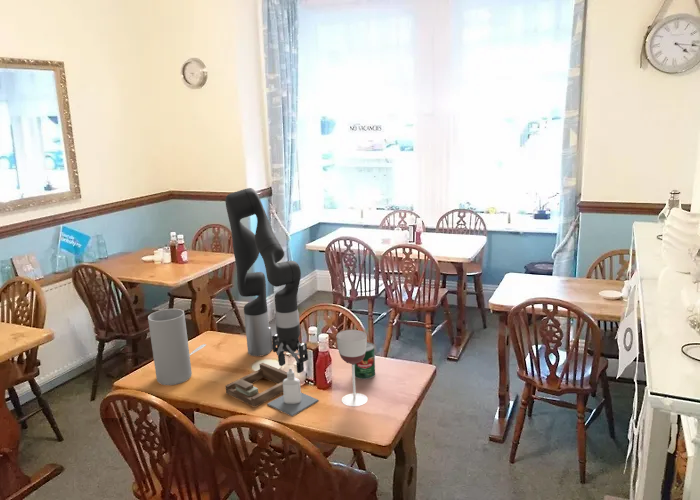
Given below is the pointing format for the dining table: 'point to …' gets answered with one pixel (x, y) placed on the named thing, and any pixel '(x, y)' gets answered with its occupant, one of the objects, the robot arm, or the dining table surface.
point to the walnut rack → (263, 372)
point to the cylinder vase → (170, 346)
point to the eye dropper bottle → (291, 388)
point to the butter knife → (198, 349)
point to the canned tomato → (366, 364)
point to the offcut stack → (246, 388)
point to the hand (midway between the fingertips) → (291, 368)
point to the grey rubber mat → (293, 408)
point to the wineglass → (352, 359)
